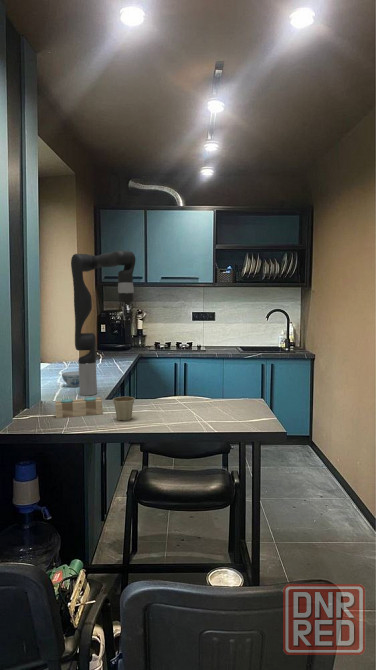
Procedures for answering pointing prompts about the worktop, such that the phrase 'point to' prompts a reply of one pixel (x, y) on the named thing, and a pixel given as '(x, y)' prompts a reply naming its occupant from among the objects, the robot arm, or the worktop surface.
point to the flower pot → (124, 407)
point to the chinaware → (71, 378)
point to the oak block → (78, 408)
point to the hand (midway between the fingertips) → (127, 327)
